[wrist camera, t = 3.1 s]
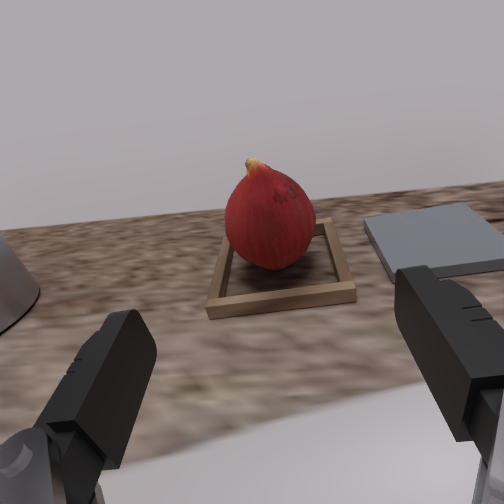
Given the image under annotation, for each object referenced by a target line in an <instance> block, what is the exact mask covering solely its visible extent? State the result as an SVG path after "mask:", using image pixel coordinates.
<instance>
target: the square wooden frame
mask: <svg viewBox="0 0 504 504" xmlns="http://www.w3.org/2000/svg"><path fill="white" fill-rule="evenodd" d="M321 234H325V238H326V241H327V245H328V248H329V252H330V255H331V259H332V263H333V266H334V270H335V273H336V277H337V280H338V282H337V283H330V284H322V285H314V286H307V287H299V288H291V289H284V290H276V291H269V292H261V293H253V294H246V295H238V296H230V297H225V292H226V287H227V282H228V277H229V272H230V267H231V261H232V256H233V251H234V249H233V248H232V247H231V245H230V243H229V241H228V239H227V237H226V235H224V237H223V240H222V244H221V248H220V252H219V256H218V260H217V263H216V267H215V271H214V275H213V279H212V282H211V286H210V290H209V294H208V298H207V301H206V305H205V309H206V311H207V314H208V316H209V319H216V318H225V317H233V316H241V315H250V314H258V313H266V312H274V311H283V310H291V309H299V308H308V307H316V306H324V305H332V304H341V303H349V302H356V287H355V285H354V282H353V279H352V276H351V273H350V270H349V267H348V265H347V262H346V259H345V256H344V253H343V250H342V247H341V245H340V242H339V239H338V236H337V233H336V230H335V227H334V225H333V222H332V219H331V217H330V218H324V219H318V220H316V230H315V233H314V235H321ZM314 235H313V236H314Z"/></svg>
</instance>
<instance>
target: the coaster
mask: <svg viewBox="0 0 504 504" xmlns="http://www.w3.org/2000/svg"><path fill="white" fill-rule="evenodd" d="M364 229H365V230H366V232H367V234H368V236H369V238H370V240H371V242H372V244H373V246H374V248H375V250H376V252H377V254H378V256H379V258H380V260H381V262H382V263H383V265H384V267H385V269H386V271H387V273H388V275H389V277H390V279H391V281H392V283H393V284H395V274H396V270H397V269H400V268H407V267H413V266H420V265H427V266H428V267H429V268H430V269H431V270H432V272H433V273H434V274H435V275H436V277H437V278H442V277H450V276H457V275H465V274H473V273H481V272H489V271H497V270H504V235H503V234H502V233H500V232H499V231H498V230H497V229H495V228H494V227H493V226H492V225H490V224H489V223H488V222H487V221H485V220H484V219H483V218H482V217H480V216H479V215H478V214H477V213H475V212H474V211H473V210H472V209H470V208H469V207H468V206H467V205H465V204H464V203H463V202H462V203H456V204H450V205H444V206H437V207H431V208H425V209H419V210H413V211H406V212H400V213H394V214H388V215H382V216H375V217H369V218H364Z"/></svg>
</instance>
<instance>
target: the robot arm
mask: <svg viewBox="0 0 504 504" xmlns="http://www.w3.org/2000/svg"><path fill="white" fill-rule="evenodd" d="M38 293H39V286H38V284H37V283H36V281H35V280H34V279H33V277H32V276H31V275H30V273H29V272H28V270H27V269H26V268H25V266H24V265H23V264H22V262H21V261H20V259H19V258H18V257H17V255H16V254H15V253H14V251H13V250H12V248H11V247H10V245H9V244H8V243H7V241H6V240H5V239H4V237H3V236H2V235H1V233H0V332H2V331H3V330H5V329H6V328H7V327H9V326H10V325H11V324H12V323H14V322H15V321H16V320H17V319H19V318H20V317H21V316H22V315H23V314H24V313H25V312H26V311H27V310H28V309H29V308H30V306H31V305H32V304H33V303H34V301H35V300H36V298H37V296H38ZM394 310H395V317H396V321H397V324H398V327H399V330H400V332H401V334H402V336H403V338H404V339H405V341H406V343H407V345H408V347H409V349H410V351H411V353H412V355H413V357H414V359H415V361H416V363H417V365H418V367H419V369H420V371H421V373H422V375H423V377H424V379H425V381H426V383H427V385H428V387H429V389H430V391H431V393H432V395H433V397H434V399H435V401H436V402H437V405H438V406H439V409H440V411H441V413H442V414H443V416H444V418H445V420H446V422H447V424H448V426H449V428H450V430H451V432H452V434H453V436H454V438H455V440H456V442H462V441H463V442H464V441H474V443H475V445H476V446H477V448H478V450H479V452H480V454H481V459H480V464H479V469H478V474H477V480H476V485H475V490H474V495H473V500H472V504H504V329H503V328H502V327H501V326H500V325H499V324H498V323H497V321H496V320H495V321H494V320H493V317H492V316H491V315H490V314H489V312H488V311H487V310H486V309H485V308H482V305H481V303H480V302H479V301H478V300H477V299H476V298H475V297H474V295H473V294H472V293H471V292H470V291H469V290H467V289H466V288H464V287H462V286H461V285H459V284H457V283H455V282H454V281H452V280H444V281H439V279H438V278H437V277H436V275H435V274H434V273H433V272H432V270H431V269H430V268H429V267H428V266H427V265H420V266H413V267H407V268H400V269H397V270H396V274H395V303H394ZM156 357H157V348H156V344H155V341H154V339H153V337H152V335H151V333H150V332H149V330H148V328H147V326H146V324H145V322H144V321H143V319H142V317H141V315H140V313H139V312H138V311H137V310H135V309H132V310H126V311H120V312H113V313H110V314H109V315H108V316H107V318H106V320H105V321H104V323H103V325H102V327H101V328H100V330H99V331H96V332H95V333H94V334H93V335H92V336H91V337H90V338H89V339H88V340H87V341H86V342H85V343H84V344H83V345H82V347H81V349H80V350H79V352H78V354H77V355H76V357H75V359H74V362H73V363H72V364H71V365H70V367H69V368H68V370H67V372H66V373H67V374H66V375H64V377H63V378H62V380H61V382H60V383H59V385H58V387H57V388H56V390H55V391H54V393H53V395H52V396H51V398H50V400H49V401H48V403H47V405H46V406H45V408H44V410H43V411H42V413H41V414H40V416H39V418H38V419H37V421H36V423H35V424H34V426H33V427H32V428H28V429H25V430H23V431H20V432H18V433H17V434H15V435H13V436H12V437H10V438H9V439H8V440H6V441H5V442H4V443H3V444H2V445H1V446H0V504H105V502H104V498H103V494H102V489H101V486H100V485H99V483H98V479H99V476H100V474H101V471H102V470H112V469H119V468H120V465H121V462H122V459H123V456H124V453H125V450H126V447H127V444H128V441H129V438H130V435H131V432H132V429H133V426H134V423H135V420H136V418H137V415H138V412H139V409H140V406H141V403H142V400H143V397H144V394H145V391H146V388H147V385H148V382H149V379H150V376H151V373H152V370H153V367H154V365H155V362H156Z"/></svg>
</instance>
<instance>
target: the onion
mask: <svg viewBox="0 0 504 504" xmlns="http://www.w3.org/2000/svg"><path fill="white" fill-rule="evenodd" d="M245 165H246V168H247V175H246V176H245V177H244V178H243V179H242V180H241V181H240V182H239V184H238V185H237V186H236V188H235V190H234V191H233V193H232V194H231V196H230V198H229V200H228V203H227V206H226V211H225V228H226V237H227V239H228V241H229V243H230V245H231V247H232V248H233V249H234V250H235V251H236V252H237V253H238V255H240V256H241V257H242V258H243V259H244V260H246V261H248V262H250V263H252V264H255V265H257V266H260V267H263V268H266V269H270V270H274V271H279V270H282V269H283V268H285V267H288V266H289V265H291V264H293V263H294V262H295V261H296V260H298V259H299V258H300V257H301V256H302V255H303V254H304V253H305V252H306V250H307V249H308V247H309V244H310V242H311V240H312V237H313V235H314V233H315V230H316V216H315V213H314V209H313V206H312V204H311V202H310V200H309V198H308V197H307V195H306V193H305V192H304V190H303V189H302V188H301V187H300V186H299V184H297V183H296V182H295V181H294V180H293V179H291V178H290V177H288V176H287V175H285V174H283V173H281V172H279V171H276V170H273V169H271V168H270V167H269V166H267V165H265V164H263V163H262V162H261V161H260V160H259V159H255V158H249V159H247V160H246V163H245Z"/></svg>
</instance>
